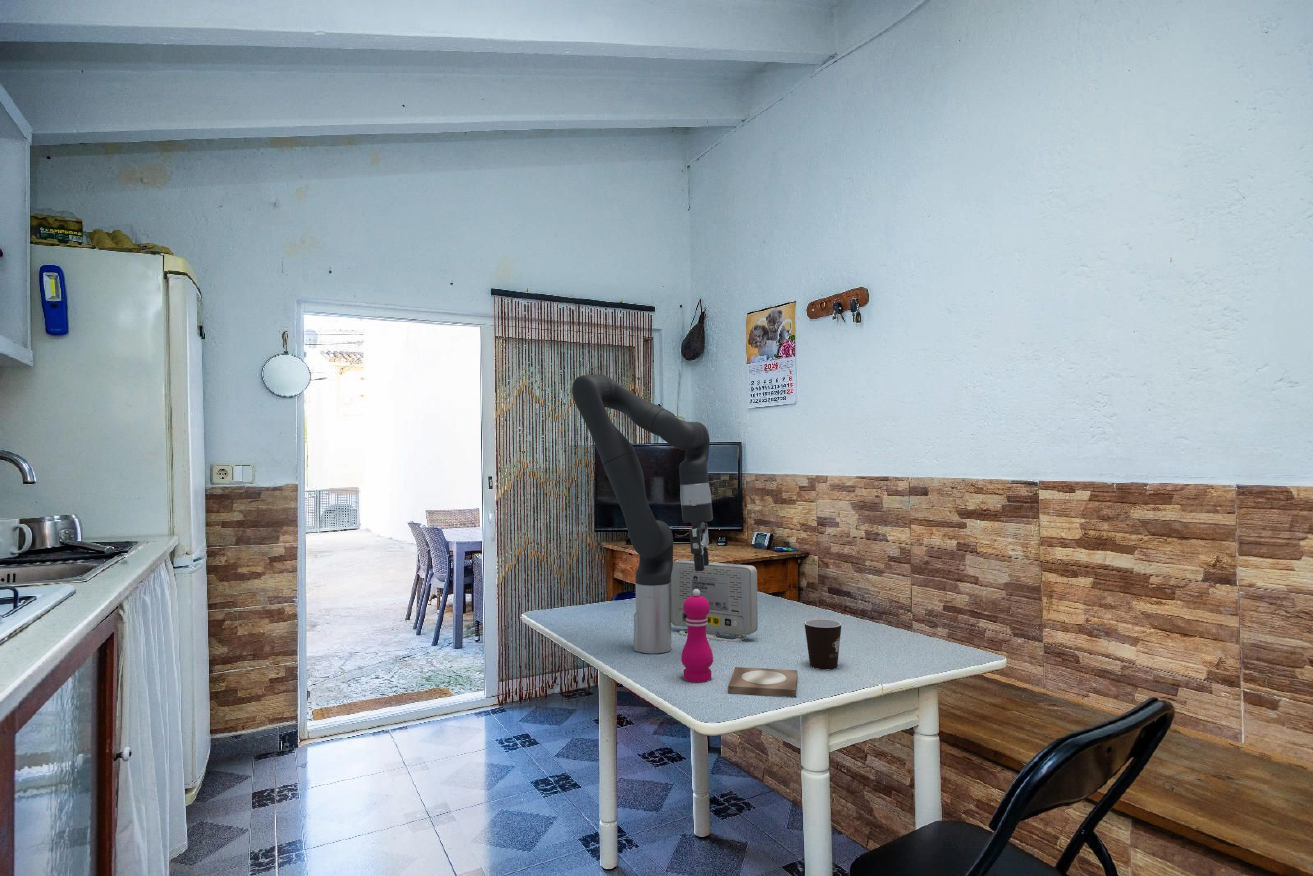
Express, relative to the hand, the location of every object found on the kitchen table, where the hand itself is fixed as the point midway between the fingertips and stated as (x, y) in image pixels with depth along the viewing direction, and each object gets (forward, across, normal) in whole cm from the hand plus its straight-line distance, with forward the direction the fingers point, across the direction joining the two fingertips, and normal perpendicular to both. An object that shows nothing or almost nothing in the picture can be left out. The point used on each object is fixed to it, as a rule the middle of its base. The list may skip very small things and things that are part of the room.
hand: (702, 568), depth 176 cm
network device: (+23, -25, -3) cm, 34 cm away
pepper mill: (+23, +14, -1) cm, 27 cm away
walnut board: (+24, +16, +14) cm, 32 cm away
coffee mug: (+25, -2, +28) cm, 37 cm away
